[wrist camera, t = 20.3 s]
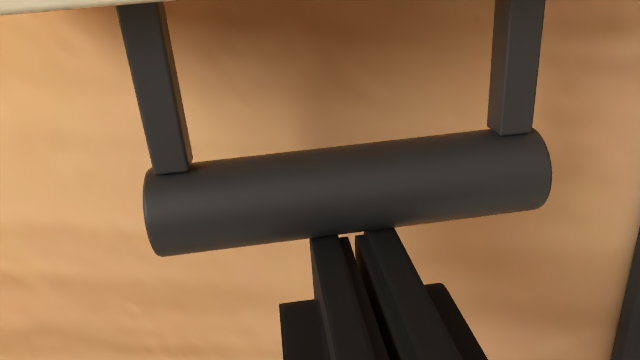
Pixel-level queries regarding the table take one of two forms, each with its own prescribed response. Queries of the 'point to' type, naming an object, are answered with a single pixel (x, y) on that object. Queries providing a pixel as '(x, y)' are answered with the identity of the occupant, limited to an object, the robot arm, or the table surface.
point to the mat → (630, 315)
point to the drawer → (329, 153)
